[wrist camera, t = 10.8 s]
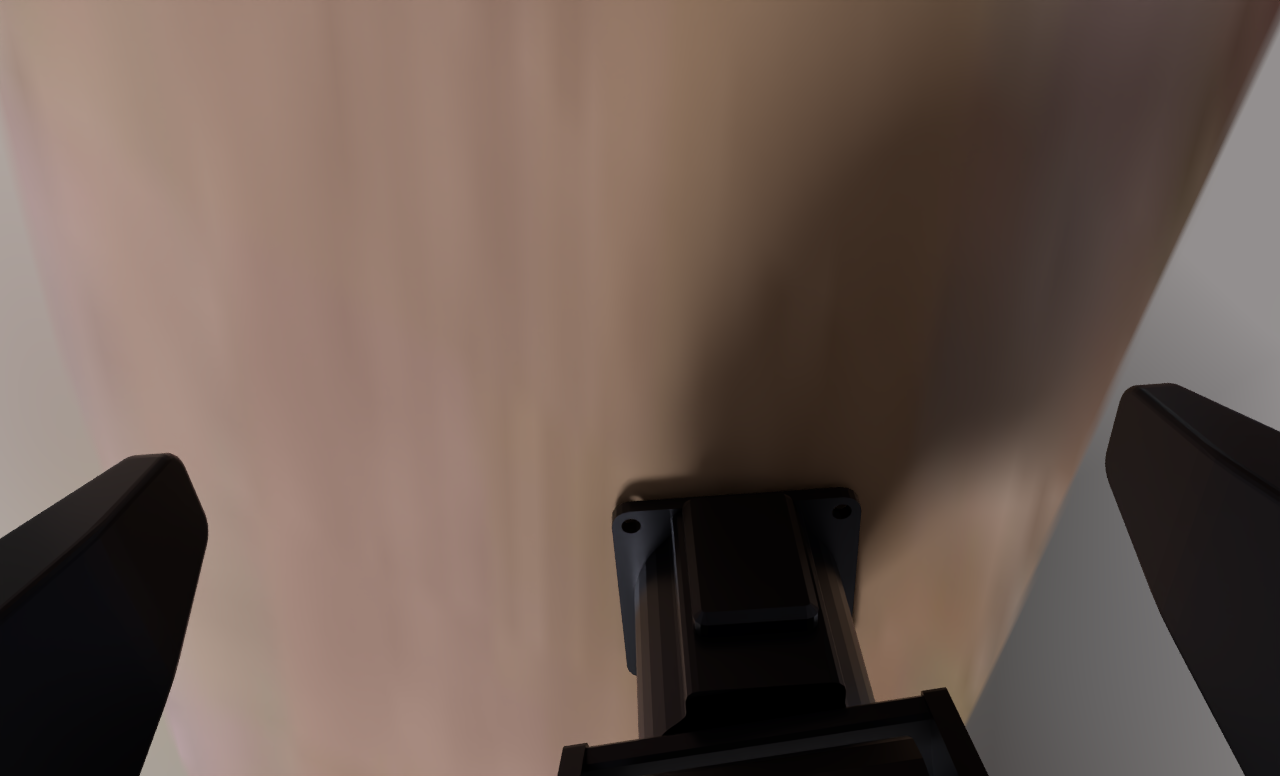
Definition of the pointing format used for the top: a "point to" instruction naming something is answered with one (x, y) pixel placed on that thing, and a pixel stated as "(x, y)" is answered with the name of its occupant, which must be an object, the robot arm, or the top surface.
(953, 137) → the top surface
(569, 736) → the top surface
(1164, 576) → the robot arm
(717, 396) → the top surface
